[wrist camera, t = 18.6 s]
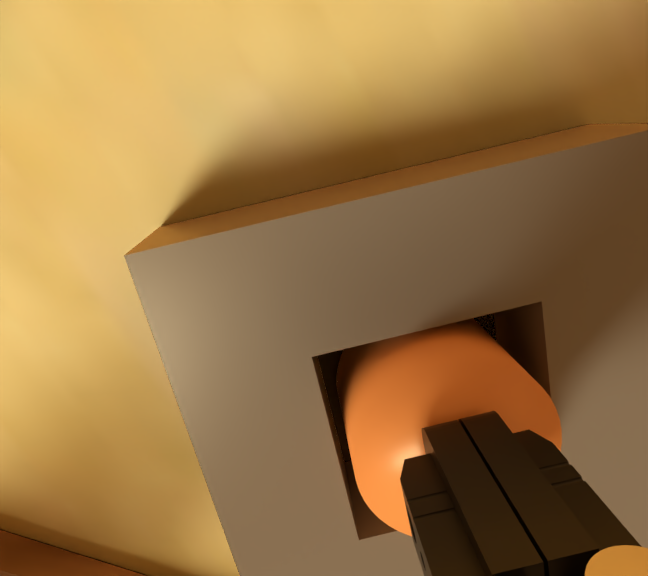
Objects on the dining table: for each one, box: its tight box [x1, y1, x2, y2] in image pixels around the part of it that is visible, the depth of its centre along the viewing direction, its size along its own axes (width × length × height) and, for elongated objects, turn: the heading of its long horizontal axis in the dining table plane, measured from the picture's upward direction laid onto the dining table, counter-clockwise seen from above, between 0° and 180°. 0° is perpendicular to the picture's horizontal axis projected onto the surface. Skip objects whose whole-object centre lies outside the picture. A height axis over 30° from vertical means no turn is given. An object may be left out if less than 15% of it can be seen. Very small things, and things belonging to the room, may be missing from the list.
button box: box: [124, 123, 648, 576], centre depth 13 cm, size 11×11×3 cm
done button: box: [336, 318, 562, 536], centre depth 12 cm, size 4×4×4 cm
